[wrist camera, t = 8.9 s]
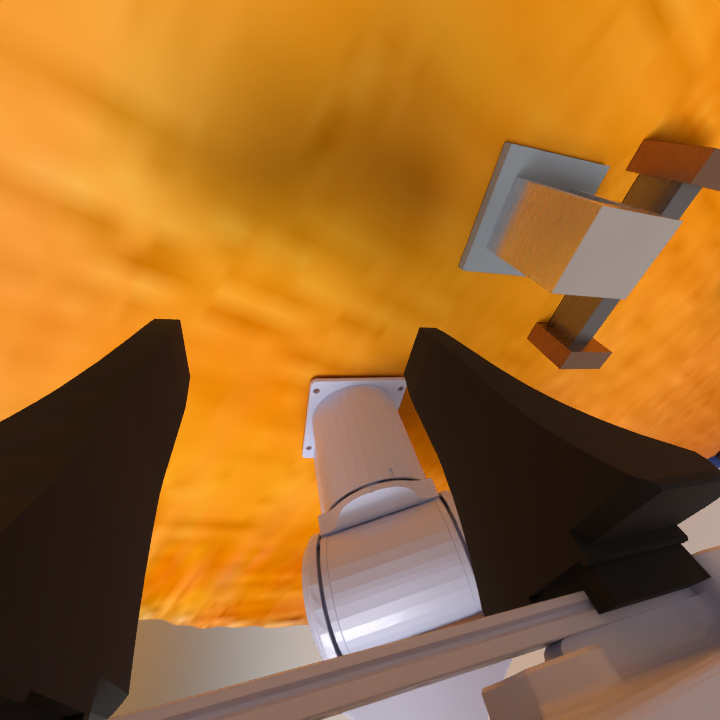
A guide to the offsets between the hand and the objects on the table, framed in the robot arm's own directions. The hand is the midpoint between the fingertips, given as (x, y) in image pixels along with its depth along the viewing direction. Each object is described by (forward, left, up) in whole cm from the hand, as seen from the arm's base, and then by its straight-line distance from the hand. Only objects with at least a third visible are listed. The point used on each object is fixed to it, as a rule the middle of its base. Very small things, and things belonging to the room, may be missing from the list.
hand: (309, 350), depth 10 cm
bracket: (+3, -15, -10) cm, 18 cm away
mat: (+3, -15, -10) cm, 18 cm away
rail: (+1, -22, -10) cm, 24 cm away
